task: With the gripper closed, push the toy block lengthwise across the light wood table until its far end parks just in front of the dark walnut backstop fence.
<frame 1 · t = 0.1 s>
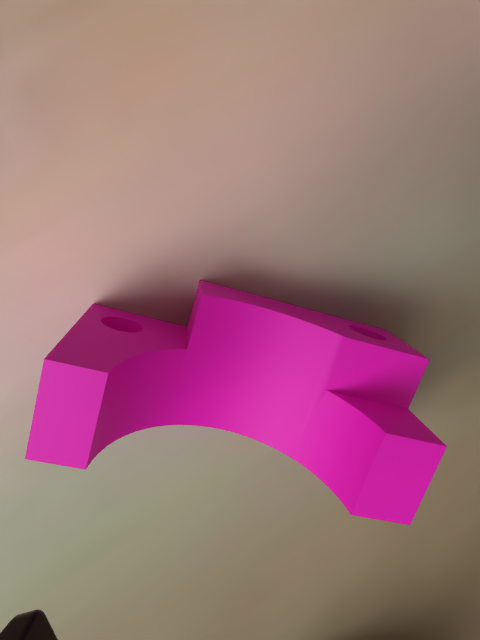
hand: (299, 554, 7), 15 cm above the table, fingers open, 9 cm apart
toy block: (235, 348, 22), on the table
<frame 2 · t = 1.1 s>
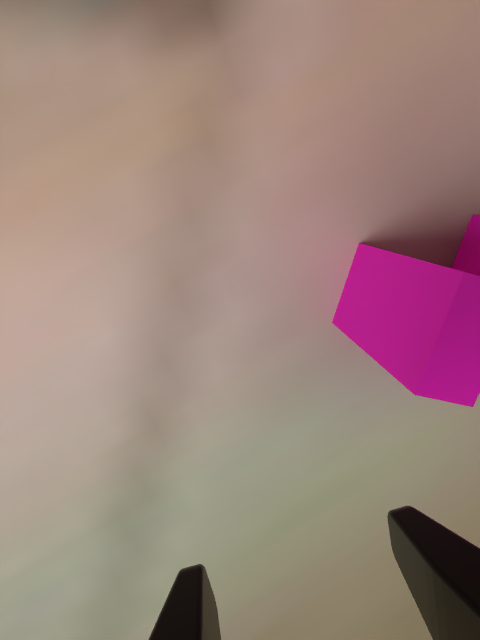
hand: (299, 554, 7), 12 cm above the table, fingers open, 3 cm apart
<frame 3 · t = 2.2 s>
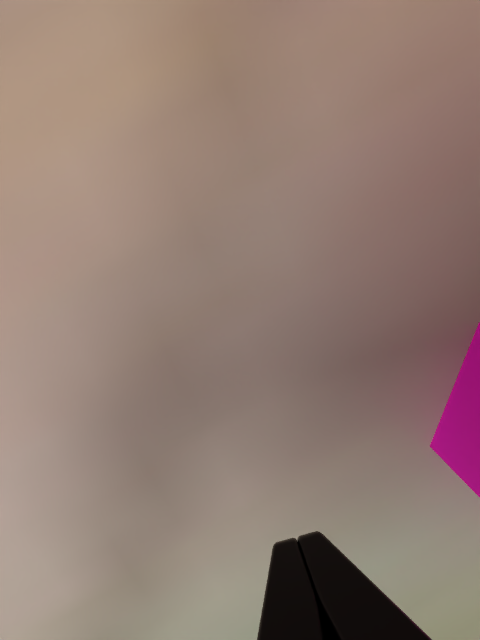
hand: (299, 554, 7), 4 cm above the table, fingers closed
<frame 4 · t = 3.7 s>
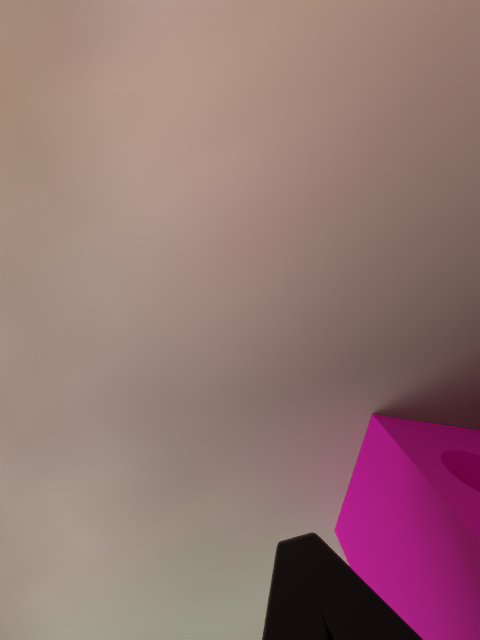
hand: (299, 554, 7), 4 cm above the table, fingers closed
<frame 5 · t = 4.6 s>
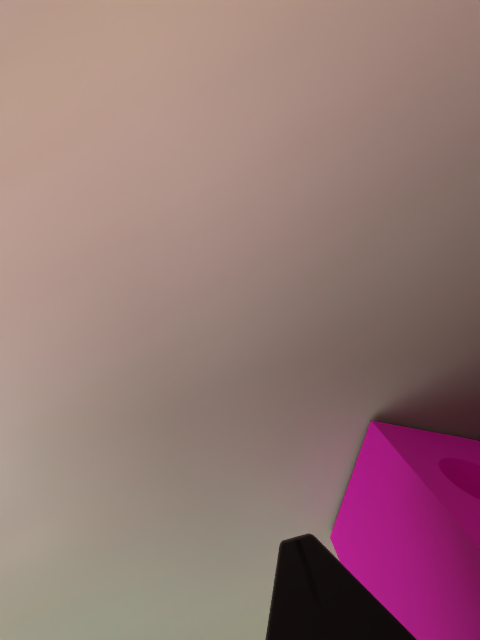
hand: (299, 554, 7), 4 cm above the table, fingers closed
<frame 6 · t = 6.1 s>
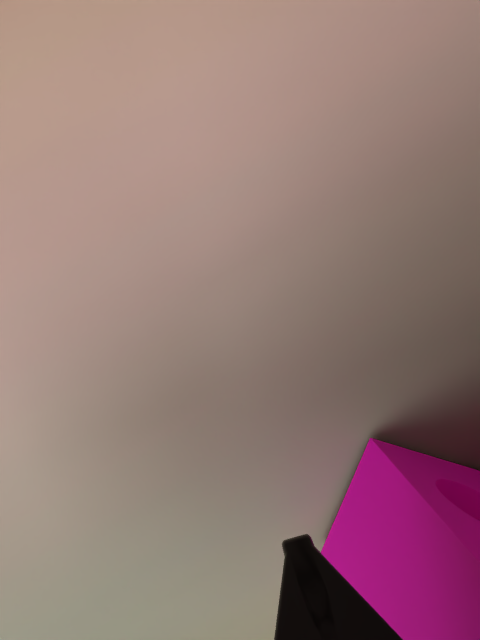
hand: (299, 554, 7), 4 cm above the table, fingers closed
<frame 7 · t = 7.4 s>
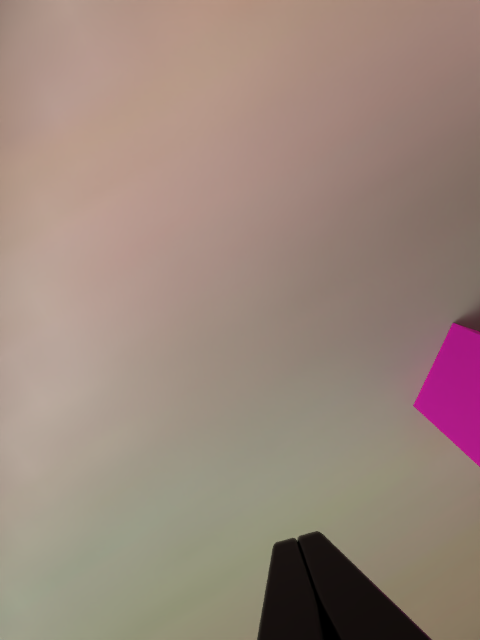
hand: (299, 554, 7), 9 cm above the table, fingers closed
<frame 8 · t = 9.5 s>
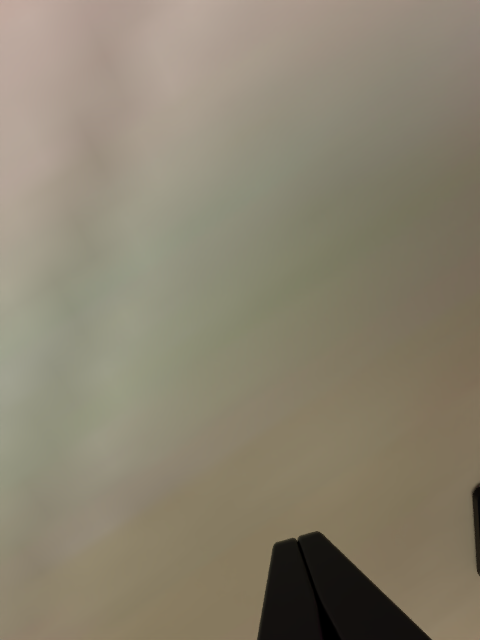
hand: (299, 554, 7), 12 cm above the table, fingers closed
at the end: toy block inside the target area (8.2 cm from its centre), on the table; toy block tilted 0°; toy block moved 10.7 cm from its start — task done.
